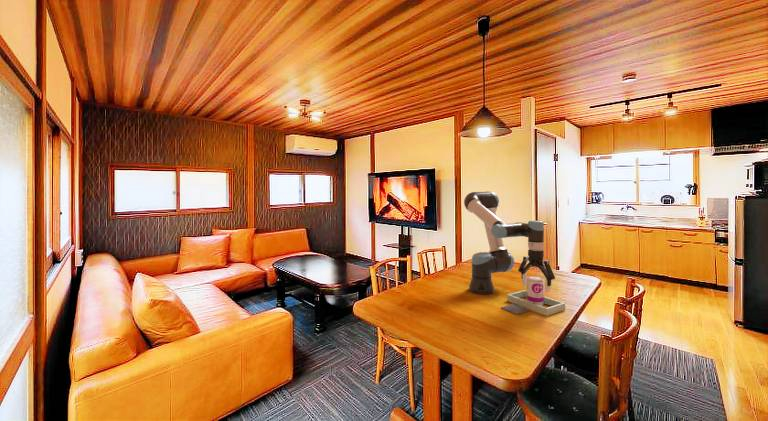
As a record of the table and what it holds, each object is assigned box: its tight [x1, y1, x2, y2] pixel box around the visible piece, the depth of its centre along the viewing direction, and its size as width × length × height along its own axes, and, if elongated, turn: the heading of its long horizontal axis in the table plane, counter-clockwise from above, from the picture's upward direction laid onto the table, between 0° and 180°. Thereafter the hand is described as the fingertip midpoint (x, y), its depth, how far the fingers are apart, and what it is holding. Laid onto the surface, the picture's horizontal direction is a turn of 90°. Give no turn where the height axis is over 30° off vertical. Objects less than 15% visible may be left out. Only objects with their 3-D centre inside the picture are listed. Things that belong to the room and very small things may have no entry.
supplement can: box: [526, 275, 545, 307], centre depth 165 cm, size 8×8×15 cm
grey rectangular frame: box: [506, 289, 566, 317], centre depth 165 cm, size 24×15×4 cm, turn 28°
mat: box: [501, 303, 532, 316], centre depth 160 cm, size 10×10×1 cm
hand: (535, 288), depth 164 cm, fingers open, 13 cm apart
